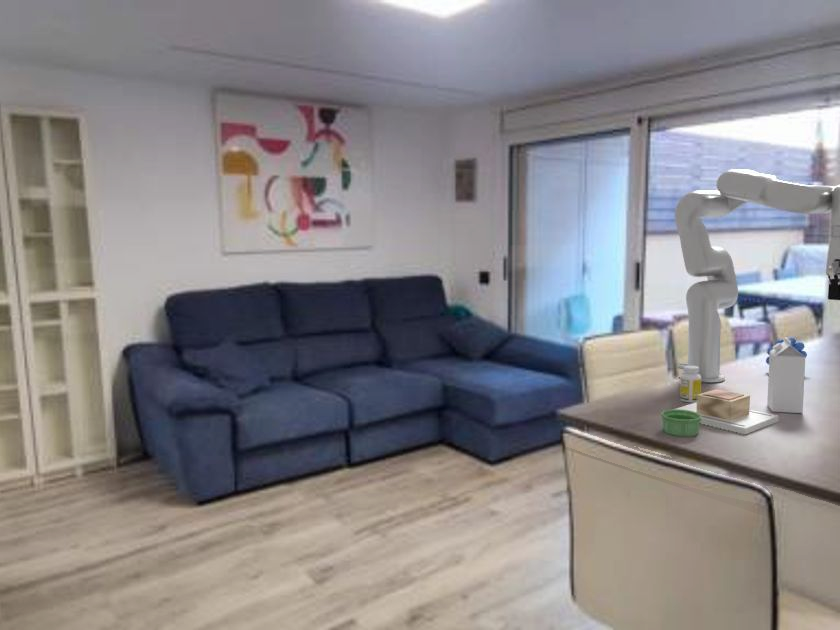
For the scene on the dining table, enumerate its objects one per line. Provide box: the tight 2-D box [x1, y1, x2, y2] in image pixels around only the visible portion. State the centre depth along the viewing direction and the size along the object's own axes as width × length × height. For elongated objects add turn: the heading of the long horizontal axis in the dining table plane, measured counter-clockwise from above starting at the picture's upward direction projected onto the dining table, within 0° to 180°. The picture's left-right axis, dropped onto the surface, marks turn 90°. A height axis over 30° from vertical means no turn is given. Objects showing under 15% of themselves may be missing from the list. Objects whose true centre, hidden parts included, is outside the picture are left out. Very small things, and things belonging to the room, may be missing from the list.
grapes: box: [765, 337, 808, 366], centre depth 211 cm, size 12×7×12 cm, turn 60°
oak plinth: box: [696, 388, 751, 420], centre depth 163 cm, size 9×9×5 cm
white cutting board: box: [675, 402, 779, 435], centre depth 163 cm, size 20×16×2 cm
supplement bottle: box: [679, 366, 702, 404], centre depth 181 cm, size 5×5×10 cm
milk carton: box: [767, 336, 806, 414], centre depth 169 cm, size 7×7×19 cm
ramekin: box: [660, 408, 702, 437], centre depth 154 cm, size 9×9×4 cm
